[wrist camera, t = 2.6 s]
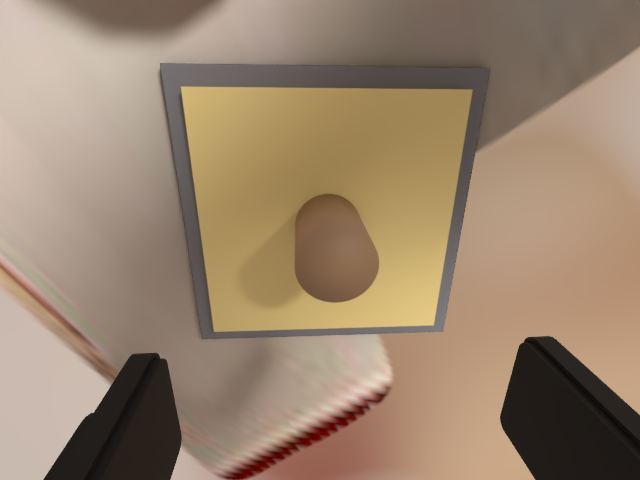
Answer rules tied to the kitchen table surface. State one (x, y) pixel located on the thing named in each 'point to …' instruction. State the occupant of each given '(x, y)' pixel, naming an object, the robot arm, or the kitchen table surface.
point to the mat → (315, 78)
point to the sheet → (318, 158)
